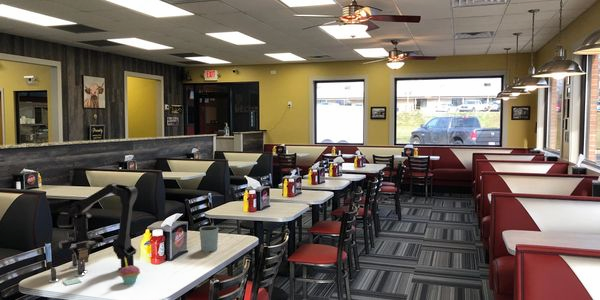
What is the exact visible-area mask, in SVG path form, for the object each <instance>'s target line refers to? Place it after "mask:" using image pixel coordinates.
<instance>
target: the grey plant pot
mask: <svg viewBox="0 0 600 300" xmlns="http://www.w3.org/2000/svg"><path fill="white" fill-rule="evenodd" d="M199 238H200V239H199V240H200V249H201V250H202V251H201V250H200V251H201V252H203V251H204V253H211V252H210V251H213V252H216V251H217V250H218V242H219V241H218V239H219V226H216V225H206V226H201V227H200V228H199ZM215 250H216V251H215Z"/></svg>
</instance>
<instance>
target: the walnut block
mask: <svg viewBox="0 0 600 300" xmlns="http://www.w3.org/2000/svg"><path fill="white" fill-rule="evenodd" d="M78 256H79V260H78V261H77V263H78V262H80V260H83V259H84V260H85V263H89V257H88V249H87V247H81V248H78Z"/></svg>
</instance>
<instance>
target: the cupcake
mask: <svg viewBox="0 0 600 300" xmlns="http://www.w3.org/2000/svg"><path fill="white" fill-rule="evenodd" d="M125 264H126V266H125V267H124V268H122V269H121V270H119V274H118V276H119V277H121V278H122V281H123V283H124V284H125V285H132V283H133V284H135V283H136V282H137V279H138V276H139V275H140V273H141V270H140V268H139V266H136V265H132V266H128V265H127V260H126V258H125Z"/></svg>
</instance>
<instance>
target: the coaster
mask: <svg viewBox="0 0 600 300" xmlns="http://www.w3.org/2000/svg"><path fill="white" fill-rule="evenodd" d="M62 283H63V284H64V285H65V286H72V285H76V284H79V283H82V281H81V279H79V277H78V278H77V277H76V278H71V279H66V280H63V281H62Z"/></svg>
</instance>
